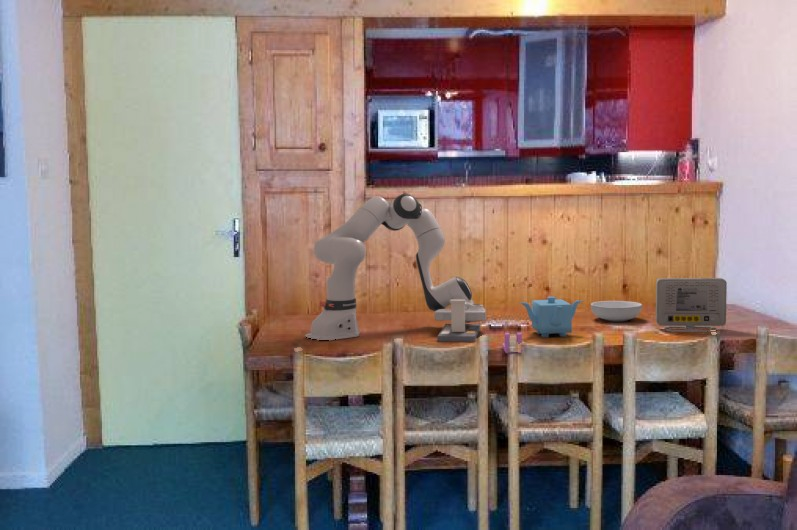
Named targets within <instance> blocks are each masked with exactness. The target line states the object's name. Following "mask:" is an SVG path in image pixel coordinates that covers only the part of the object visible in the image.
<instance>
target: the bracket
mask: <svg viewBox="0 0 797 530" xmlns="http://www.w3.org/2000/svg"><path fill="white" fill-rule="evenodd" d="M522 335H523V334H522V332H516V335H515V336H516V337H517V342H518V344H520V343H522V344H523V339H522V338H523V336H522ZM509 338H510V332H505V333H504V342H503V343H502V348H503V351H504V353H505V354H509V353H508V349H509ZM510 339H511V338H510Z"/></svg>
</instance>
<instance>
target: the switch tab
mask: <svg viewBox="0 0 797 530" xmlns="http://www.w3.org/2000/svg"><path fill="white" fill-rule="evenodd" d="M465 303H466V301H465V299H451V300H450V304H451V305H450V309H451V321H450V322H451V323H450V324H451V325H452V332H465V324H466V323H465Z"/></svg>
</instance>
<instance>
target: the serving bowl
mask: <svg viewBox="0 0 797 530" xmlns="http://www.w3.org/2000/svg"><path fill="white" fill-rule="evenodd" d="M590 308H591V312H592V313H593V315H594V316H596V317H597V318H600V319H602V320H605V321H607V322H614V323H615V322H617V323H618V322H627V321H628V320H633V319H635V318H636V317H638V316H639V315H640V314H641V311H642V309H643V304H642V303H640V302H636V301H628V300H627V301H626V300H604V301H603V300H602V301H594V302H591V303H590Z"/></svg>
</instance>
